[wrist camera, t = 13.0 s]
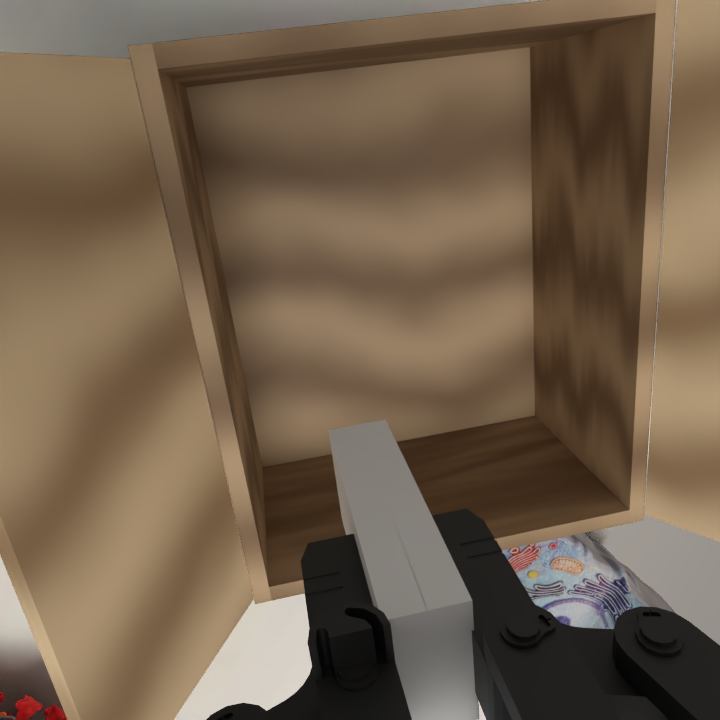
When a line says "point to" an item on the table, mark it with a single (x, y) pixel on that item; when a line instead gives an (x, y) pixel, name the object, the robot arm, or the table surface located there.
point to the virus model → (32, 710)
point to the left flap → (104, 404)
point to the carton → (422, 258)
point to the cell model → (580, 581)
